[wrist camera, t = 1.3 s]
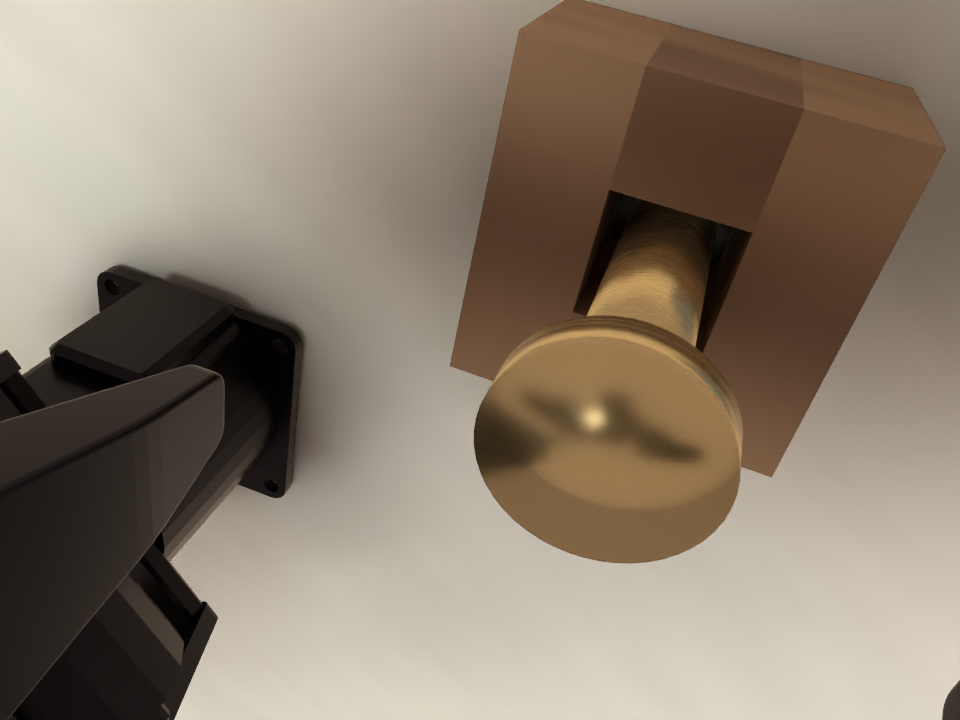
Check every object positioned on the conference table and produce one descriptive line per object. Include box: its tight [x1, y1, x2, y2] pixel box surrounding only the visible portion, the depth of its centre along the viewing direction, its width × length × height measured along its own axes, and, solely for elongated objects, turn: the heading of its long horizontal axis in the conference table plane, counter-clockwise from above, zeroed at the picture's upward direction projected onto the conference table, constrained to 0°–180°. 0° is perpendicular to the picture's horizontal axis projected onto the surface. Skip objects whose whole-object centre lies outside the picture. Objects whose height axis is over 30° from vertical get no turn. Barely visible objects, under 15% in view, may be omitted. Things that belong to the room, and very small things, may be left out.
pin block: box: [450, 0, 946, 477], centre depth 17 cm, size 7×7×4 cm
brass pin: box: [474, 198, 743, 563], centre depth 15 cm, size 3×3×10 cm
